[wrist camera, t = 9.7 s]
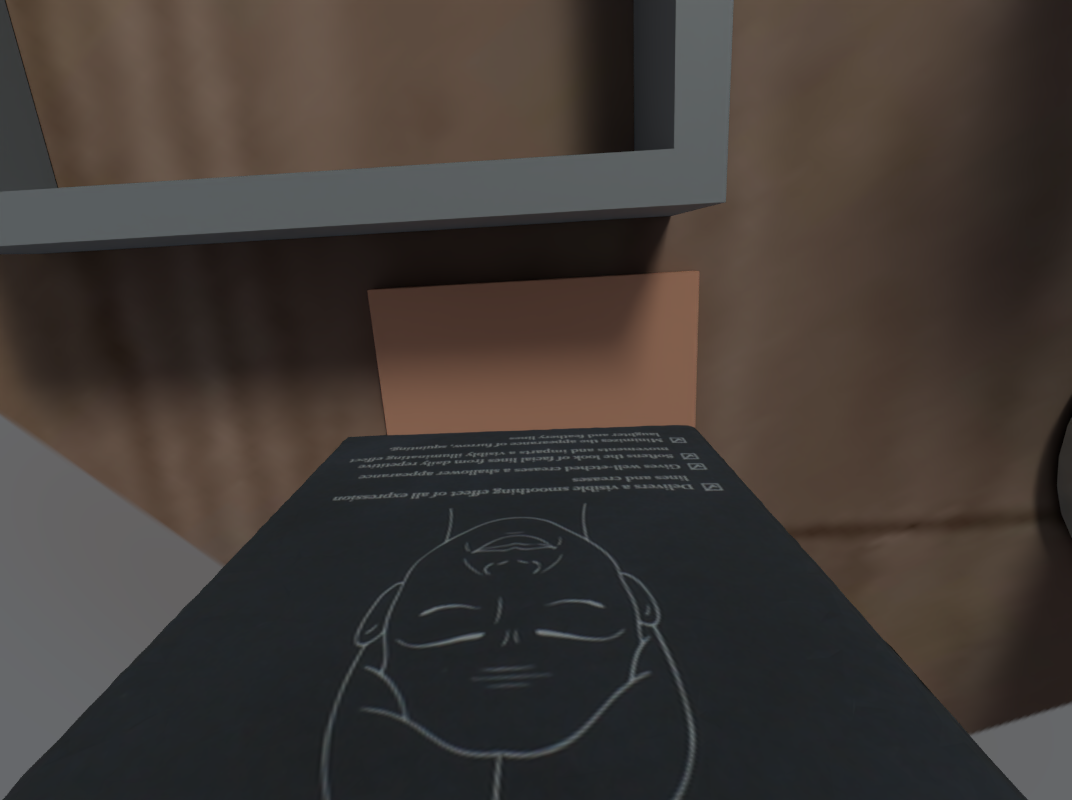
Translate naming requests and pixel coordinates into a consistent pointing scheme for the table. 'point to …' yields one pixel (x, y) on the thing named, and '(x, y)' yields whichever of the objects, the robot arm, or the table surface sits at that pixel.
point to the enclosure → (401, 167)
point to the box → (519, 645)
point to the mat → (538, 353)
